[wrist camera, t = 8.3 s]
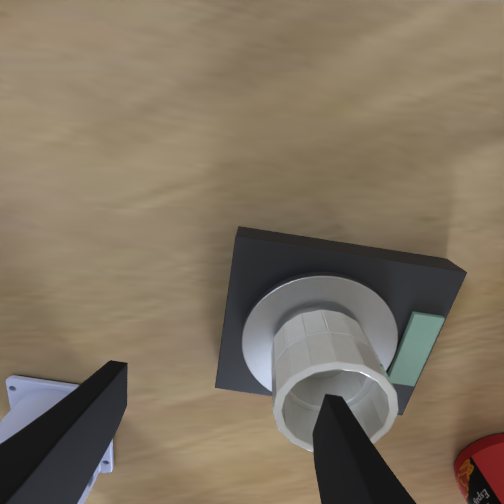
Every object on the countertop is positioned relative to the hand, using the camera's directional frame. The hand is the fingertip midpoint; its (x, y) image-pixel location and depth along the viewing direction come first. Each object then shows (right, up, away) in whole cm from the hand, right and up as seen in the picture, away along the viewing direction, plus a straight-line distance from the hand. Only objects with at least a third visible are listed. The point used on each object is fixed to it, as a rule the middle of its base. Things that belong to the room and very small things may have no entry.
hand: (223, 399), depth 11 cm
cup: (+5, 0, +7) cm, 8 cm away
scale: (+6, +1, +9) cm, 11 cm away
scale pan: (+5, 0, +7) cm, 9 cm away
